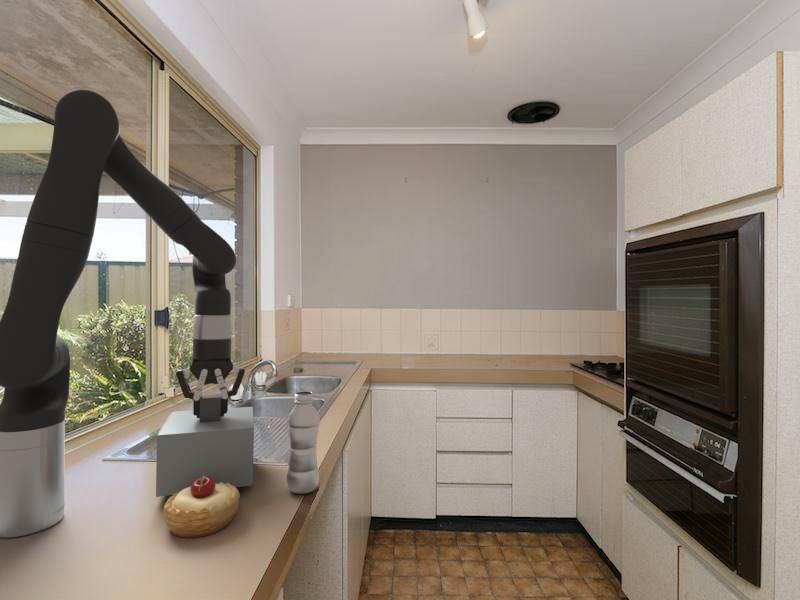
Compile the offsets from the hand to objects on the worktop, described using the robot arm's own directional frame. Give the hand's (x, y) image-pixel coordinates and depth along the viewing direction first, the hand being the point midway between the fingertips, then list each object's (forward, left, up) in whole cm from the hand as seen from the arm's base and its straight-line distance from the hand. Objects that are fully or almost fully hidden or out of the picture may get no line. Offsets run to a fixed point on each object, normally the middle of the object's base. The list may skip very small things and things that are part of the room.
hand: (210, 416), depth 91 cm
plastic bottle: (+18, -11, -14) cm, 25 cm away
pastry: (0, -17, -14) cm, 23 cm away
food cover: (0, 0, -12) cm, 12 cm away
